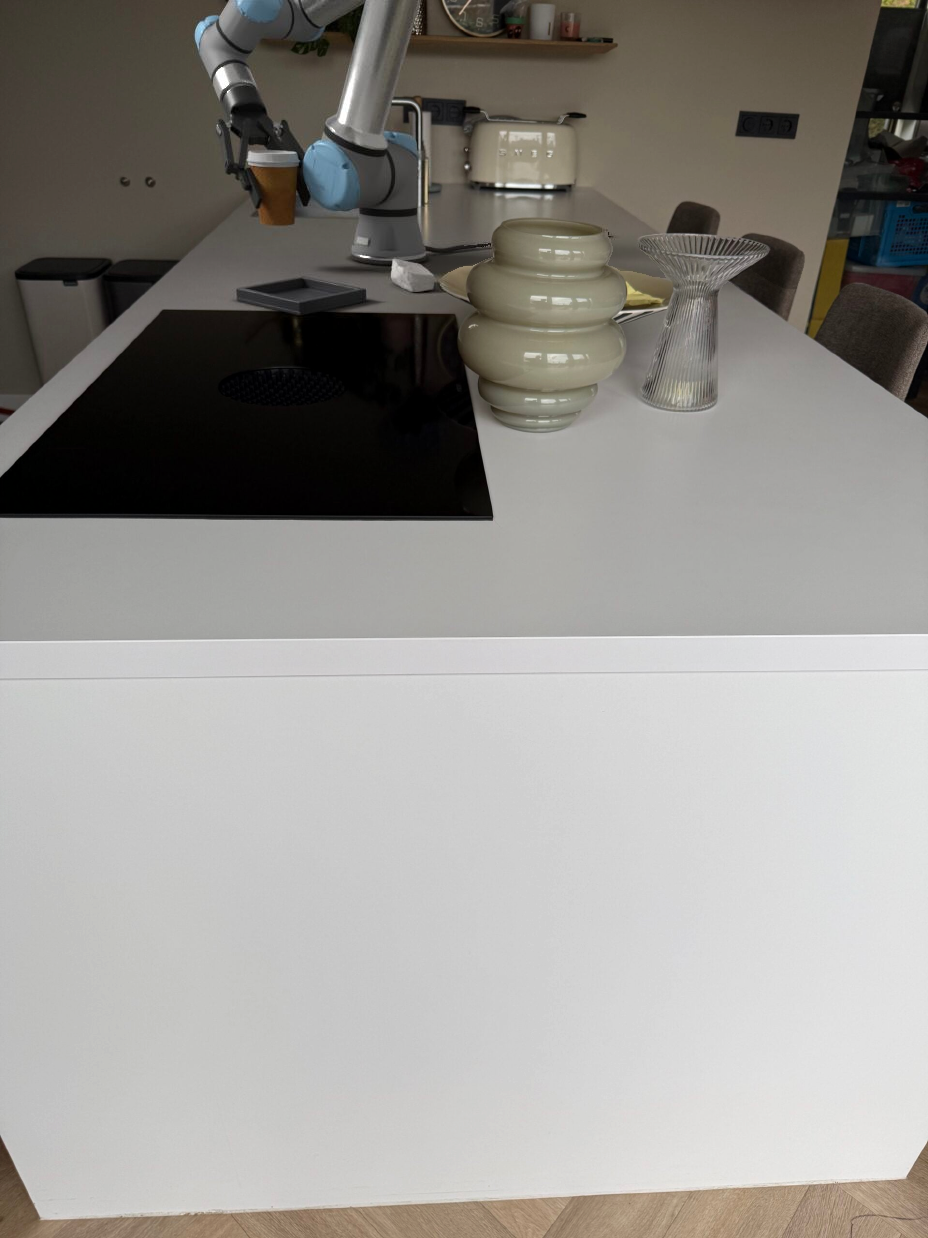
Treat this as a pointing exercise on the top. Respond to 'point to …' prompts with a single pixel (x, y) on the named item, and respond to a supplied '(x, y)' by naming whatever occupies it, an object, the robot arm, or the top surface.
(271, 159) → the disposable coffee cup
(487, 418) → the top surface
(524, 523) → the top surface
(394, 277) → the white rock
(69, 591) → the top surface
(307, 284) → the pad
